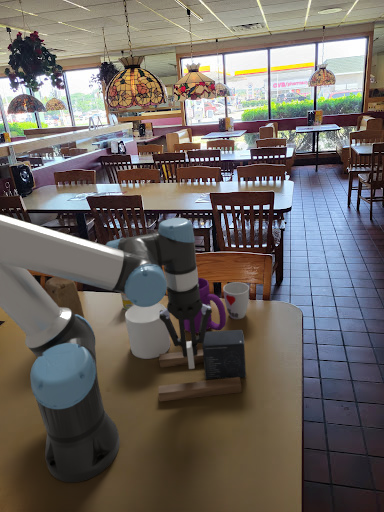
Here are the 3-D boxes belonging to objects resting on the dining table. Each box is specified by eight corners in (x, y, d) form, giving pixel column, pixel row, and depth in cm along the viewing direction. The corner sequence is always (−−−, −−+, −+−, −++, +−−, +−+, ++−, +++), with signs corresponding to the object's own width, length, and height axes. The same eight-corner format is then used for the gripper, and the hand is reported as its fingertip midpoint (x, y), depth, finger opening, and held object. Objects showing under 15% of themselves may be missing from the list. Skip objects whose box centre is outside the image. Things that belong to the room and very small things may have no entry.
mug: (195, 315, 126) (191, 274, 121) (234, 329, 117) (232, 286, 111) (177, 328, 120) (172, 286, 114) (217, 344, 111) (214, 299, 105)
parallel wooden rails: (241, 392, 92) (241, 384, 92) (159, 401, 92) (158, 393, 91) (231, 353, 106) (231, 346, 105) (160, 361, 106) (159, 354, 105)
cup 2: (220, 312, 126) (218, 286, 122) (241, 306, 129) (240, 279, 125) (233, 324, 119) (231, 296, 116) (254, 316, 122) (254, 289, 118)
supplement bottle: (133, 300, 139) (129, 277, 135) (141, 306, 135) (137, 281, 131) (120, 306, 136) (116, 282, 132) (128, 312, 132) (124, 287, 128)
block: (90, 335, 121) (77, 279, 113) (68, 346, 116) (54, 288, 108) (73, 323, 128) (60, 270, 120) (52, 333, 123) (38, 278, 116)
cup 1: (161, 362, 106) (155, 325, 101) (124, 356, 110) (117, 320, 105) (176, 337, 116) (172, 303, 111) (141, 332, 120) (136, 299, 115)
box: (244, 361, 103) (242, 329, 99) (246, 378, 97) (245, 344, 93) (205, 363, 104) (202, 330, 99) (204, 379, 98) (201, 346, 93)
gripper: (208, 274, 92) (214, 353, 101) (155, 280, 92) (166, 358, 101) (211, 288, 85) (218, 372, 95) (154, 295, 85) (166, 378, 94)
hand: (191, 365), depth 98 cm, fingers closed
